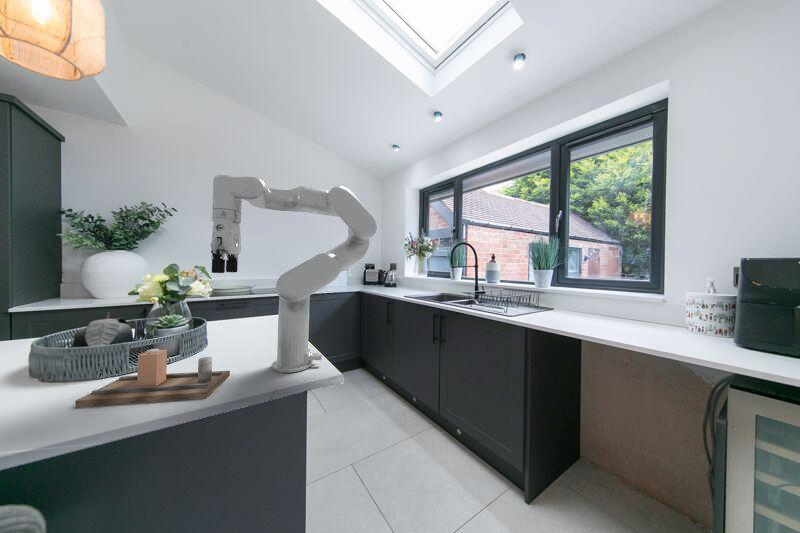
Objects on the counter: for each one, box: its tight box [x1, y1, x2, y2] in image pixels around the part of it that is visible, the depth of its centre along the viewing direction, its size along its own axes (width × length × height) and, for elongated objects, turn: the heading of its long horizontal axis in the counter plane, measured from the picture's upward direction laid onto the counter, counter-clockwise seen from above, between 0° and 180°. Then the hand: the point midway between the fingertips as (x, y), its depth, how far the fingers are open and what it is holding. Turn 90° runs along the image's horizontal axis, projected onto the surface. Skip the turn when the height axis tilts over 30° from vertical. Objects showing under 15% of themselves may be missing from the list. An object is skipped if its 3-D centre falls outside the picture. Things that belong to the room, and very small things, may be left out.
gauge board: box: [74, 356, 231, 408], centre depth 70 cm, size 26×14×8 cm, turn 102°
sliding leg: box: [136, 348, 168, 387], centre depth 69 cm, size 4×4×9 cm
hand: (225, 272), depth 83 cm, fingers open, 9 cm apart
